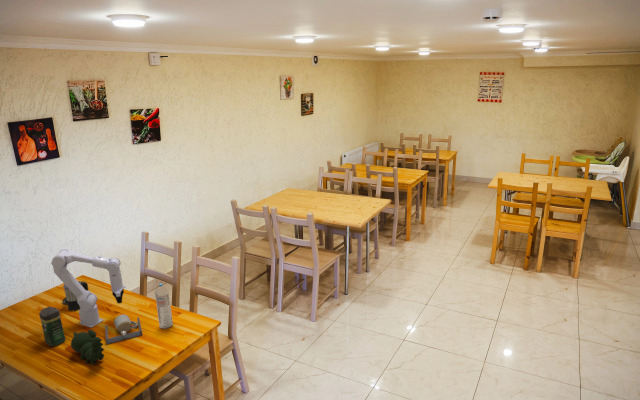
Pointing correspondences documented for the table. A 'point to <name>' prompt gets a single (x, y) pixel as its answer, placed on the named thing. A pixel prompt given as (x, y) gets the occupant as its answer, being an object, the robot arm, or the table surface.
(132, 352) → the table surface
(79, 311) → the robot arm
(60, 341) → the coffee jar
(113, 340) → the coupler cradle
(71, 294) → the milk frother
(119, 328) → the ceramic mug
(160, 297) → the water bottle
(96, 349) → the toy figurine
